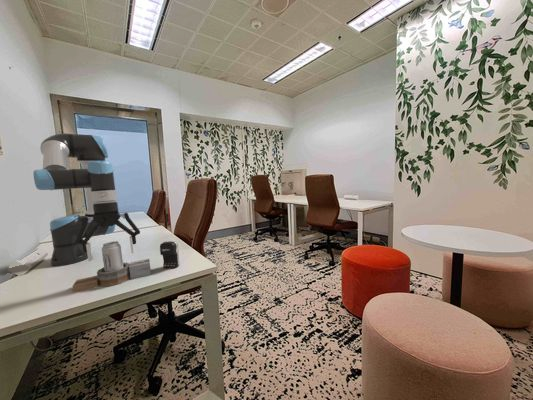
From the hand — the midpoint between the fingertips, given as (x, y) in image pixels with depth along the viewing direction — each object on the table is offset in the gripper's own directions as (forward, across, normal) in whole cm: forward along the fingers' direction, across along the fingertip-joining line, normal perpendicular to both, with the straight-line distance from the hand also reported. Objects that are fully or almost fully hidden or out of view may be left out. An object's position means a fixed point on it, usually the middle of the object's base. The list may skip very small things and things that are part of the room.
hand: (112, 256), depth 85 cm
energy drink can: (+10, 0, 0) cm, 10 cm away
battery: (+10, +20, 0) cm, 22 cm away
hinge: (+10, 0, 0) cm, 10 cm away
